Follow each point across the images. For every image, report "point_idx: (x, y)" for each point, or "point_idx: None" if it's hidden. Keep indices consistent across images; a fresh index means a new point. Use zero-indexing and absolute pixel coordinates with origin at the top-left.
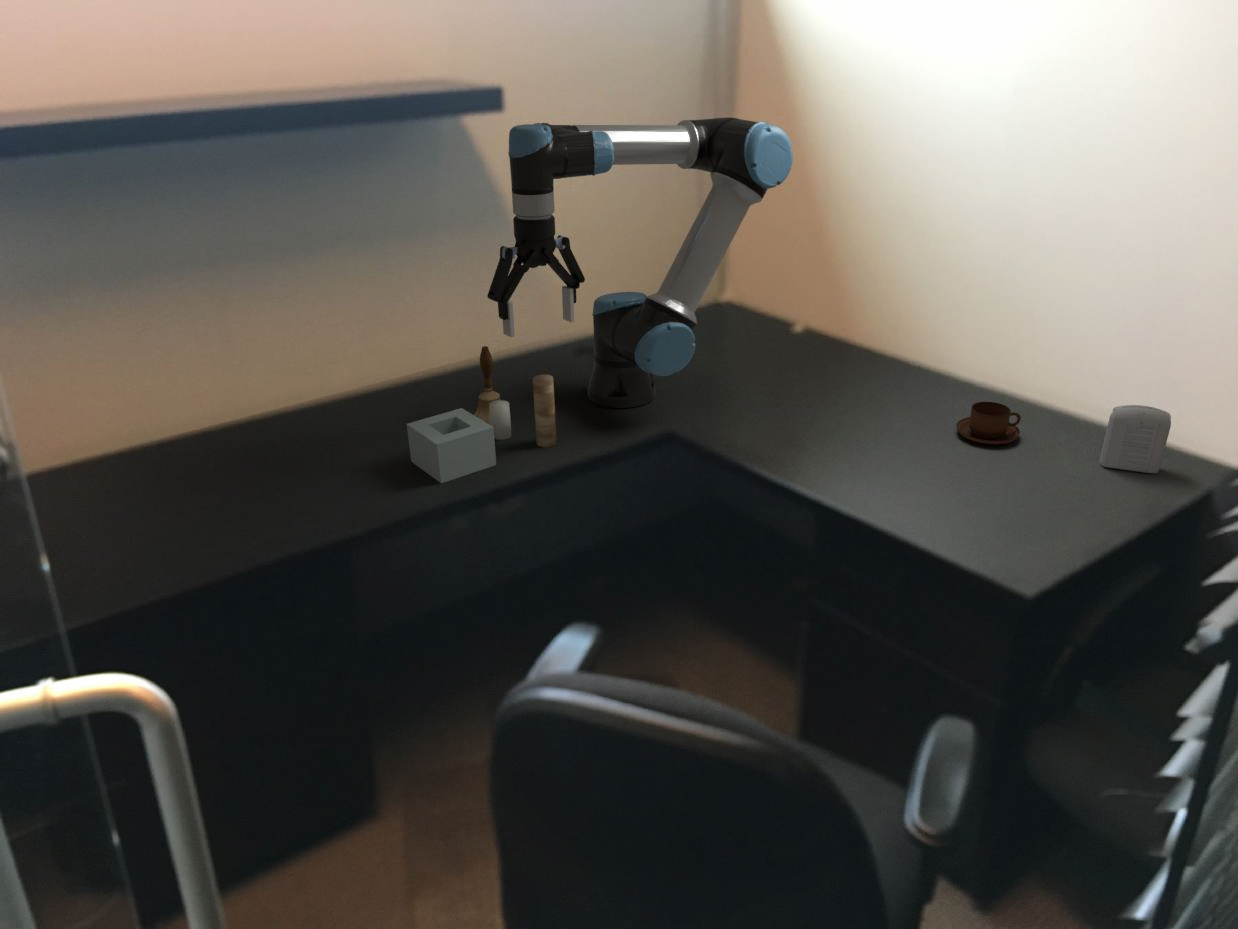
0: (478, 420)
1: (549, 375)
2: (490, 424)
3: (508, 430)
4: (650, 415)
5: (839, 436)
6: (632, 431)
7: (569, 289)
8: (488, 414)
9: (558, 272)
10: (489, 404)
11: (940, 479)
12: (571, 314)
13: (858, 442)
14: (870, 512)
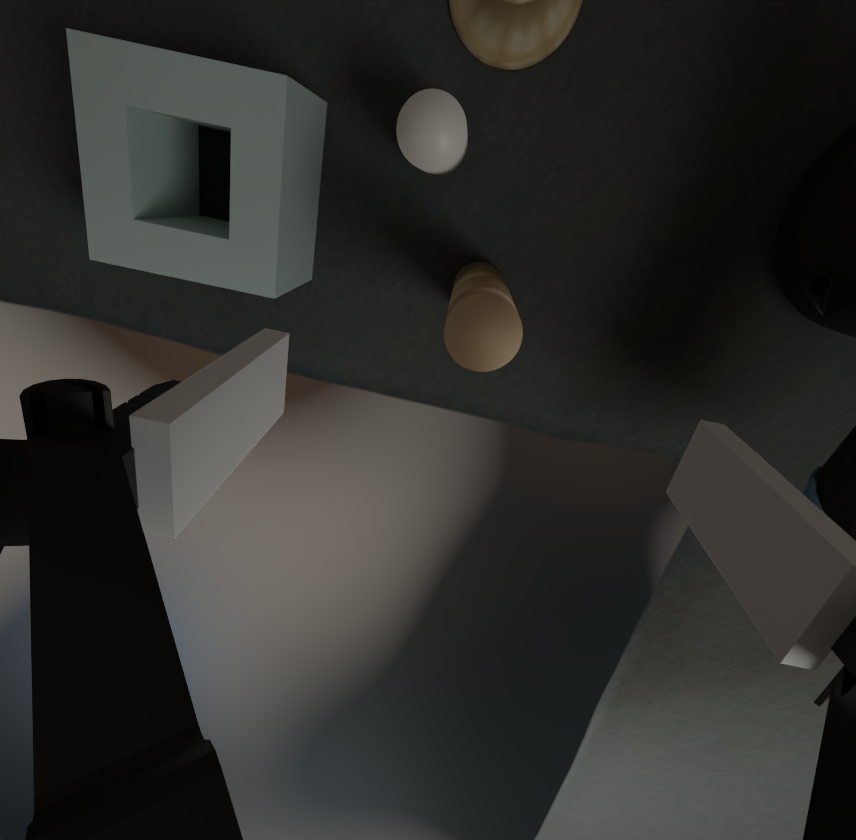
0: (269, 221)
1: (520, 333)
2: (468, 46)
3: (439, 174)
4: (775, 385)
5: (828, 703)
6: (658, 409)
7: (783, 657)
8: (479, 14)
9: (828, 811)
10: (406, 102)
11: (725, 822)
12: (690, 520)
13: (813, 728)
14: (578, 791)
